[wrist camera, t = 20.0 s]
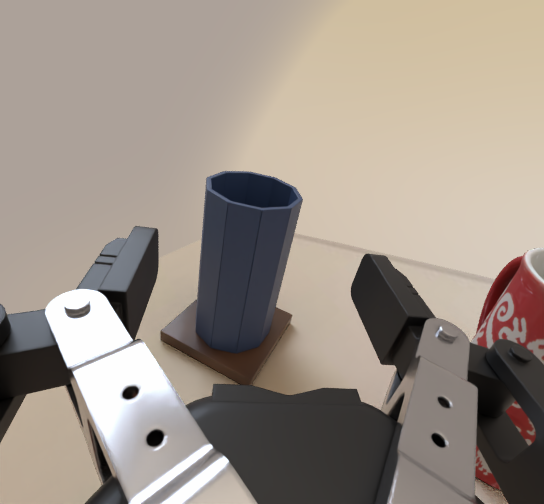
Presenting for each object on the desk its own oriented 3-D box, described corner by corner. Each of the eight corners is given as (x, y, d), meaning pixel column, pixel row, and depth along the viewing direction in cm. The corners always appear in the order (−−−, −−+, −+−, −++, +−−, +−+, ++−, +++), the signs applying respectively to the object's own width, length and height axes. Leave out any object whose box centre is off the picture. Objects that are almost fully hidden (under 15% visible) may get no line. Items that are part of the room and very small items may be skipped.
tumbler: (178, 330, 25) (184, 185, 18) (223, 289, 30) (239, 165, 23) (245, 366, 23) (276, 220, 17) (279, 316, 28) (313, 190, 22)
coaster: (160, 339, 25) (160, 330, 24) (217, 288, 31) (218, 280, 31) (248, 389, 23) (250, 380, 22) (290, 322, 29) (292, 314, 28)
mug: (586, 541, 18) (851, 408, 11) (428, 479, 20) (577, 325, 13) (507, 371, 29) (618, 247, 22) (408, 338, 30) (483, 211, 23)
